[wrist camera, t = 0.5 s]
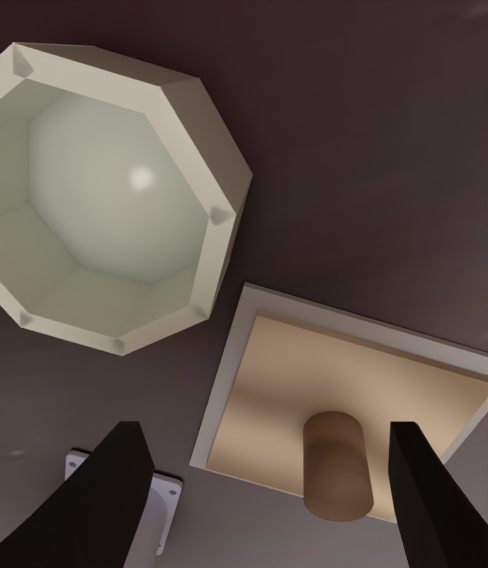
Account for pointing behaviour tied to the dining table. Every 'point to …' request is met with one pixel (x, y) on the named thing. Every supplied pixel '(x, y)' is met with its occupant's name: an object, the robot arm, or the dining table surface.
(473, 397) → the board
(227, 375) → the mat
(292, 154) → the dining table surface
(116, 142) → the bowl
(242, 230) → the dining table surface
